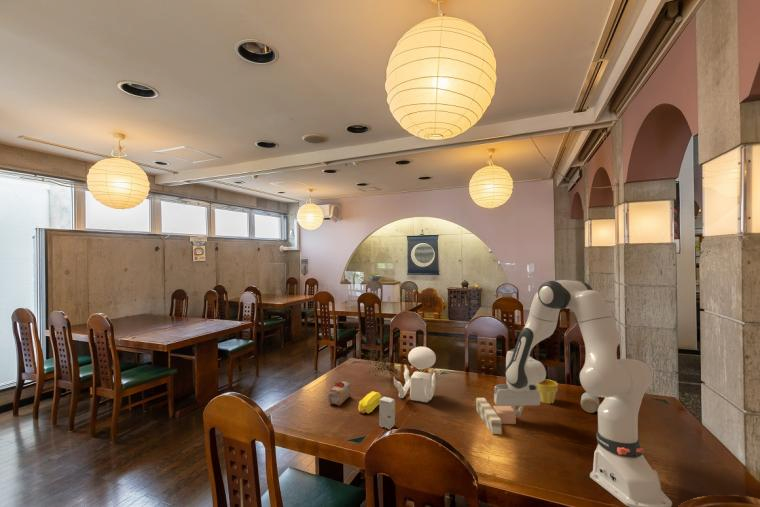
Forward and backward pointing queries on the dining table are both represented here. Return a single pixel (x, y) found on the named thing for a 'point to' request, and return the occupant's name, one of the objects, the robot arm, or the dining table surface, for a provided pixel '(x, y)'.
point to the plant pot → (547, 391)
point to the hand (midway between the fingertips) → (517, 414)
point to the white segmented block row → (488, 416)
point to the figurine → (419, 376)
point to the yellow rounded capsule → (369, 402)
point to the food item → (339, 393)
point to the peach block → (505, 414)
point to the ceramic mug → (589, 402)
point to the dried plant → (376, 362)
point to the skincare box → (386, 412)
